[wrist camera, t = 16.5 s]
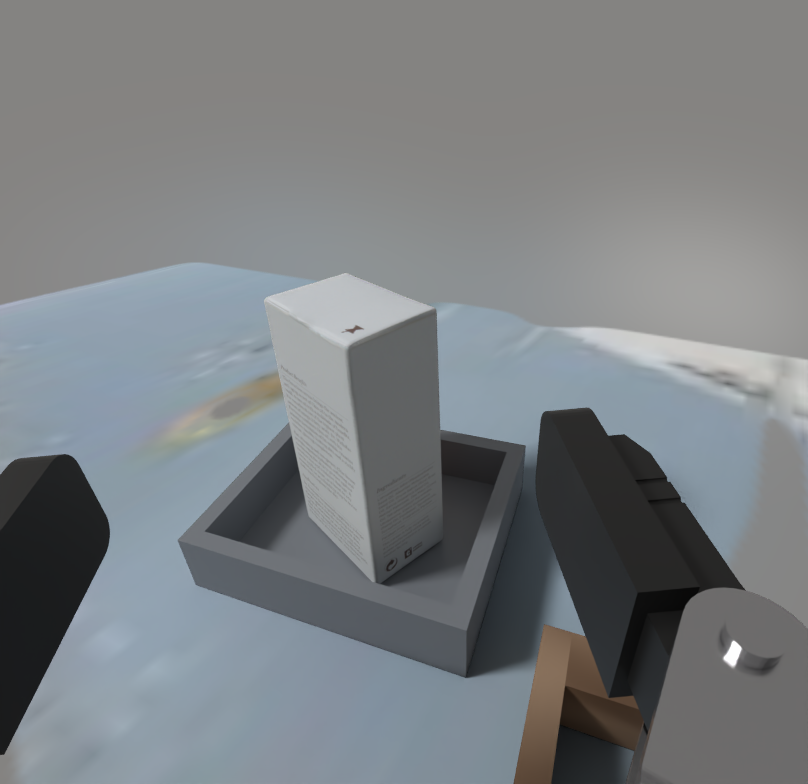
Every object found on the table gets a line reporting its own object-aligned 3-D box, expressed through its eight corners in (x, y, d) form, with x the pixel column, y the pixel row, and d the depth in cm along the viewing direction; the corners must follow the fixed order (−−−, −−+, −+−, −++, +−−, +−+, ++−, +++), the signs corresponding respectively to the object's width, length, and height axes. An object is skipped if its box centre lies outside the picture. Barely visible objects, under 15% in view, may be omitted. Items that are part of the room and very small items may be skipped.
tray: (313, 444, 33) (305, 404, 32) (522, 489, 29) (525, 445, 27) (195, 584, 25) (177, 540, 23) (465, 677, 21) (466, 630, 19)
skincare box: (447, 539, 26) (442, 307, 19) (376, 590, 23) (344, 348, 17) (371, 477, 30) (347, 268, 23) (304, 515, 27) (257, 297, 21)
